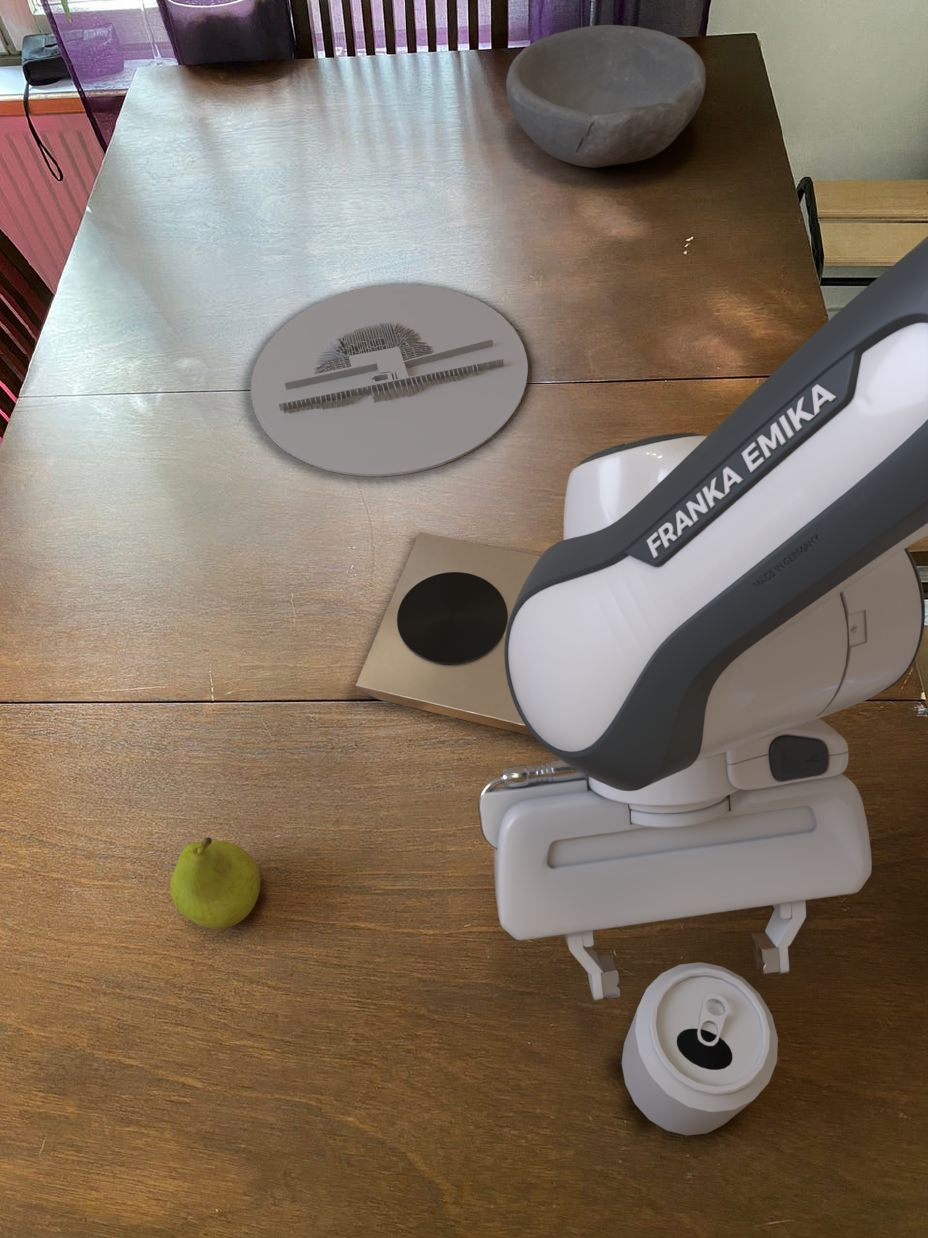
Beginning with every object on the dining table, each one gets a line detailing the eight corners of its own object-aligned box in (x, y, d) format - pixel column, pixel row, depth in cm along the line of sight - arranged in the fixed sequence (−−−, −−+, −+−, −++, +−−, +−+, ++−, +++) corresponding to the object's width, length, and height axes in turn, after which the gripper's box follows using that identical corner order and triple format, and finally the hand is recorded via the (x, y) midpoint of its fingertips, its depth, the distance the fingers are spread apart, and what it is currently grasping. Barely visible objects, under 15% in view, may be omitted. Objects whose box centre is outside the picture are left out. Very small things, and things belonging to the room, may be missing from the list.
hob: (670, 592, 81) (674, 576, 79) (632, 760, 72) (635, 746, 70) (420, 542, 85) (418, 525, 83) (357, 695, 77) (353, 680, 75)
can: (605, 1108, 59) (620, 1072, 49) (639, 988, 63) (659, 933, 53) (727, 1158, 57) (768, 1132, 47) (755, 1032, 61) (798, 983, 51)
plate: (264, 501, 89) (261, 492, 88) (241, 312, 105) (238, 303, 104) (559, 444, 91) (559, 435, 90) (493, 267, 107) (492, 257, 106)
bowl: (704, 104, 123) (716, 19, 115) (686, 206, 111) (698, 120, 103) (526, 93, 127) (526, 10, 119) (490, 191, 115) (487, 106, 107)
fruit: (178, 882, 69) (118, 814, 59) (256, 848, 70) (210, 776, 60) (199, 957, 66) (140, 899, 56) (281, 920, 67) (237, 857, 57)
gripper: (476, 793, 48) (509, 1042, 51) (879, 737, 49) (891, 986, 51) (470, 753, 54) (499, 977, 57) (826, 704, 55) (840, 928, 57)
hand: (688, 981), depth 54 cm, fingers open, 8 cm apart
